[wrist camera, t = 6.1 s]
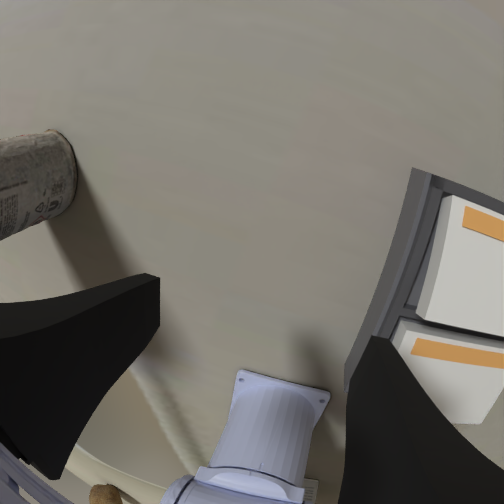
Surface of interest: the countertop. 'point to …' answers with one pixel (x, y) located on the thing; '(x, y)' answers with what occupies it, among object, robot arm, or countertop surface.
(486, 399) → the panel
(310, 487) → the container
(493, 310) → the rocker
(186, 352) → the countertop surface
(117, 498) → the brown potato
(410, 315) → the grey divided tray
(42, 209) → the spray can
